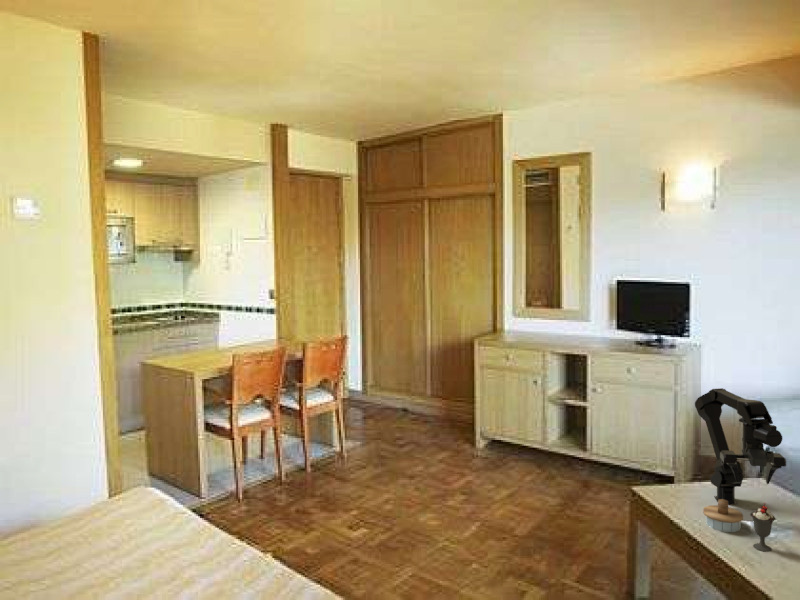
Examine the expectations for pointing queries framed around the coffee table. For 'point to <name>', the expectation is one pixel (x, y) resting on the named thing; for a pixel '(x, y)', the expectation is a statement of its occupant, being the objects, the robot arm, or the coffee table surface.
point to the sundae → (762, 526)
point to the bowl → (723, 525)
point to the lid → (723, 512)
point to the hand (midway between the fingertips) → (752, 482)
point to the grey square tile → (746, 514)
